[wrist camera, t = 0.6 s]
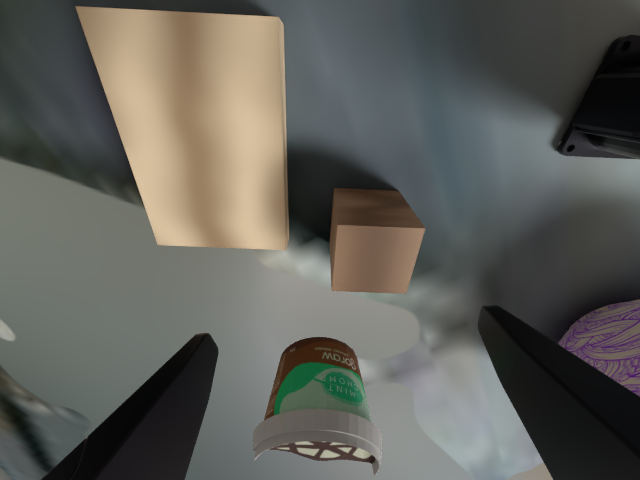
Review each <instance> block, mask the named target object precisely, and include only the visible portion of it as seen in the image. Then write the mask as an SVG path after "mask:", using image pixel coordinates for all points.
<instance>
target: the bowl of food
mask: <svg viewBox="0 0 640 480" xmlns="http://www.w3.org/2000/svg"><path fill="white" fill-rule="evenodd" d="M558 344H559V345H560V346H562V347H564V348H565V349H567V350H568V351H570V352H571V353H573V354H574V355H576V356H578V357H579V358H581V359H582V360H584V361H585V362H587V363H589V364H590V365H592V366H593V367H595V368H596V369H598V370H599V371H601V372H603V373H604V374H606V375H607V376H609V377H610V378H612V379H613V380H615V381H617V382H618V383H620V384H621V385H623V386H624V387H626V388H627V389H629V390H631V391H632V392H634V393H635V394H637V395H638V396H640V299H638V300H634V301H629V302H621V303H616V304H611V305H607V306H604V307H602V308H599V309H596V310H594V311H592V312H590V313H588V314H586V315H585V316H583V317H581V318H580V319H579V320H577V321H576V322H575V323H574V324H573V325H571V327H570V328H569V329H568V331H567V332H566V334H565V335H564V336H563V337H562V339H561V340H560V341H559V343H558Z"/></svg>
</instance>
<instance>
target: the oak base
mask: <svg viewBox="0 0 640 480" xmlns="http://www.w3.org/2000/svg"><path fill="white" fill-rule="evenodd" d="M75 7H76V10H77V13H78V16H79V19H80V21H81V24H82V27H83V30H84V33H85V36H86V39H87V42H88V45H89V47H90V50H91V53H92V56H93V59H94V62H95V65H96V68H97V71H98V73H99V76H100V79H101V82H102V85H103V88H104V91H105V94H106V96H107V99H108V102H109V105H110V108H111V111H112V114H113V117H114V120H115V122H116V125H117V128H118V131H119V134H120V137H121V140H122V143H123V145H124V148H125V151H126V154H127V157H128V160H129V163H130V166H131V169H132V171H133V174H134V177H135V180H136V183H137V186H138V189H139V192H140V195H141V197H142V200H143V203H144V206H145V209H146V212H147V215H148V218H149V220H150V223H151V226H152V229H153V232H154V235H155V238H156V240H157V243H158V245H172V246H197V247H198V246H200V247H224V248H225V247H226V248H248V249H273V250H286V249H287V244H288V239H289V215H288V176H287V137H286V97H285V58H284V25H283V23H282V22H281V20H280V19H279V17H270V16H251V15H232V14H213V13H194V12H176V11H157V10H138V9H119V8H100V7H81V6H75Z"/></svg>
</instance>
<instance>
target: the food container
mask: <svg viewBox="0 0 640 480" xmlns="http://www.w3.org/2000/svg"><path fill="white" fill-rule="evenodd" d="M268 449H271V450H281V451H288V452H292V453H295V454H298V455H301V456H304V457H306V458H310V459H313V460H318V461H320V460H321V461H328V460H340V459H341V460H354V461H362V462H369V463H371V464H372V467H373V471H374V476H375V475H376V474H377V473H378V472H379V470H380V462H381V459H382V436H381V432H380V431H379V429H378V428H377V427H376V426H375V425H374V424H373V423H372V422H371V418H370V414H369V409H368V404H367V400H366V396H365V391H364V387H363V382H362V378H361V373H360V369H359V365H358V360H357V357H356V355H355V353H354V351H353V349H351V348H350V347H349V346H348V345H346V344H345V343H343V342H340V341H338V340H335V339H332V338H326V337H314V338H313V337H312V338H306V339H303V340H299V341H297V342H295V343H293V344H292V345H290V346H289V347H287V348H286V349H285V351H284V352H283V354H282V356H281V359H280V362H279V366H278V370H277V374H276V377H275V381H274V385H273V389H272V392H271V396H270V400H269V403H268V407H267V411H266V415H265V419H264V421H263V422H262V423H260V424H259V425H258V426H257V427H256V428H255V430H254V435H253V451H255V458H254V460H256V458H257V457H258V456H259V455H260V454H261V453H263V452H264V451H266V450H268Z"/></svg>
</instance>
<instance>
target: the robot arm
mask: <svg viewBox="0 0 640 480" xmlns="http://www.w3.org/2000/svg"><path fill="white" fill-rule="evenodd" d="M623 43H624V46H623V48H622V49H621V51H620V48H621V45H622V44H623ZM569 145H570V147H569V149H568V150H567V147H568V146H569ZM558 152H559V153H560V154H562V155H566V156H582V157H604V158H626V159H640V36H638V35H629V36H623V37H619V38H618V39H616V40H615V41H614V42H613V43H612V44H611V46H610V48H609V50H608V52H607V54H606V55H605V57H604V59H603V61H602V63H601V65H600V67H599V69H598V71H597V73H596V75H595V77H594V79H593V81H592V83H591V85H590V87H589V89H588V91H587V93H586V95H585V97H584V98H583V100H582V102H581V104H580V106H579V108H578V110H577V112H576V114H575V116H574V118H573V120H572V122H571V124H570V126H569V128H568V130H567V132H566V134H565V136H564V138H563V140H562V142H561V143H560V145H559V148H558ZM478 330H479V333H480V335H481V337H482V340H483V342H484V345H485V347H486V349H487V352H488V354H489V357H490V359H491V361H492V364H493V366H494V369H495V371H496V373H497V375H498V378H499V380H500V382H501V384H502V386H503V388H504V390H505V392H506V393H507V395H508V397H509V399H510V401H511V403H512V404H513V406H514V408H515V410H516V412H517V414H518V416H519V417H520V419H521V421H522V423H523V425H524V427H525V428H526V430H527V432H528V434H529V436H530V438H531V439H532V441H533V443H534V445H535V447H536V449H537V451H538V452H539V454H540V456H541V458H542V460H543V462H544V463H545V465H546V467H547V469H548V470H549V472H550V474H551V476H552V478H553V480H640V396H638V395H637V394H635V393H634V392H632V391H631V390H629V389H627V388H626V387H624V386H623V385H621V384H620V383H618V382H617V381H615V380H613V379H612V378H610V377H609V376H607V375H606V374H604V373H603V372H601V371H599V370H598V369H596V368H595V367H593V366H592V365H590V364H589V363H587V362H585V361H584V360H582V359H581V358H579V357H578V356H576V355H574V354H573V353H571V352H570V351H568V350H567V349H565V348H564V347H562V346H560V345H559V344H557V343H556V342H554V341H553V340H551V339H550V338H548V337H546V336H545V335H543V334H542V333H540V332H539V331H537V330H536V329H534V328H532V327H531V326H529V325H528V324H526V323H525V322H523V321H522V320H520V319H518V318H517V317H515V316H514V315H512V314H511V313H509V312H507V311H506V310H504V309H503V308H501V307H500V306H497V305H489V306H483V307H482V308H481V310H480V315H479V320H478ZM217 357H218V347H217V345H216V343H215V342H214V340H213V339H212V337H211V335H210V334H208V333H202V334H196V335H195V336H194V337H193V338H192V339H190V340H189V341H188V342H187V343H186V344H185V345H184V346H183V347H182V348H181V349H180V350H179V351H178V352H177V353H176V354H175V355H174V356H172V358H170V360H168V361H167V362H166V363H165V364H164V365H163V366H162V367H161V368H160V369H159V370H158V371H157V372H155V373H154V374H153V376H151V377H150V378H149V379H148V380H147V381H146V382H145V383H144V384H143V385H142V386H141V387H140V388H139V389H137V390H136V392H134V393H133V394H132V395H131V396H130V397H129V398H128V399H127V400H126V401H125V402H124V403H123V404H122V405H121V406H119V407H118V408H117V409H116V410H115V411H114V412H113V413H112V414H111V415H110V416H109V417H108V418H107V419H106V420H105V421H104V422H102V423H101V424H100V425H99V426H98V427H97V428H96V429H95V430H94V431H93V432H92V433H91V434H90V435H89V436H88V437H87V439H84V440H83V441H82V442H81V443H80V444H79V445H78V446H77V447H76V448H75V449H74V450H73V451H72V452H71V453H70V454H68V455H67V456H66V457H65V458H64V459H63V460H62V461H61V462H60V463H59V464H58V465H57V466H55V467H54V468H53V469H52V470H51V471H50V472H49V473H48V474H47V475H46V476H44V477H43V478H42V479H41V480H185V477H186V473H187V470H188V467H189V463H190V460H191V457H192V453H193V450H194V447H195V444H196V440H197V437H198V434H199V430H200V427H201V424H202V421H203V417H204V414H205V411H206V407H207V404H208V400H209V396H210V392H211V387H212V382H213V377H214V372H215V367H216V362H217Z"/></svg>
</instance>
